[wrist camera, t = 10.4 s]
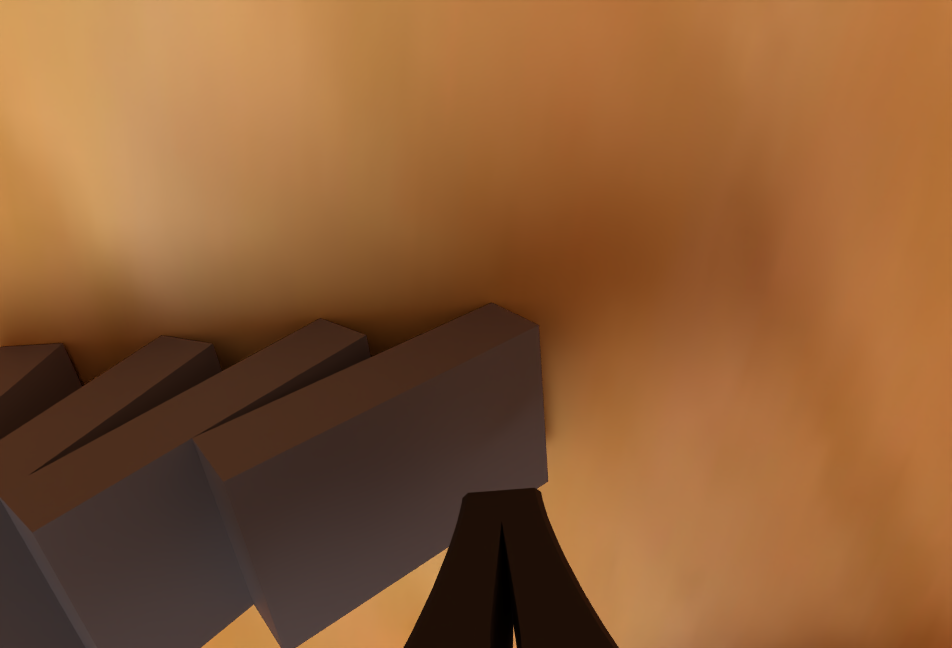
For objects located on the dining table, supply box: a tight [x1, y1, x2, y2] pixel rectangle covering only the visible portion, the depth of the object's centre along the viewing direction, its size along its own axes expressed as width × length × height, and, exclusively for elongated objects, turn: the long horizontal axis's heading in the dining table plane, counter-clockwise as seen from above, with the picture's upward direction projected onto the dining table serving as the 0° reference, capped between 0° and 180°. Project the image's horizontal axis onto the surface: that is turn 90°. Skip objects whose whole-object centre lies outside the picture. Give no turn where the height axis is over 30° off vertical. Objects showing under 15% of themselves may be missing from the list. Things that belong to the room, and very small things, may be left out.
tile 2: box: [0, 318, 371, 648], centre depth 14 cm, size 2×4×7 cm
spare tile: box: [0, 335, 222, 648], centre depth 14 cm, size 2×4×7 cm, turn 6°
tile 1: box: [192, 303, 548, 648], centre depth 15 cm, size 2×4×7 cm
